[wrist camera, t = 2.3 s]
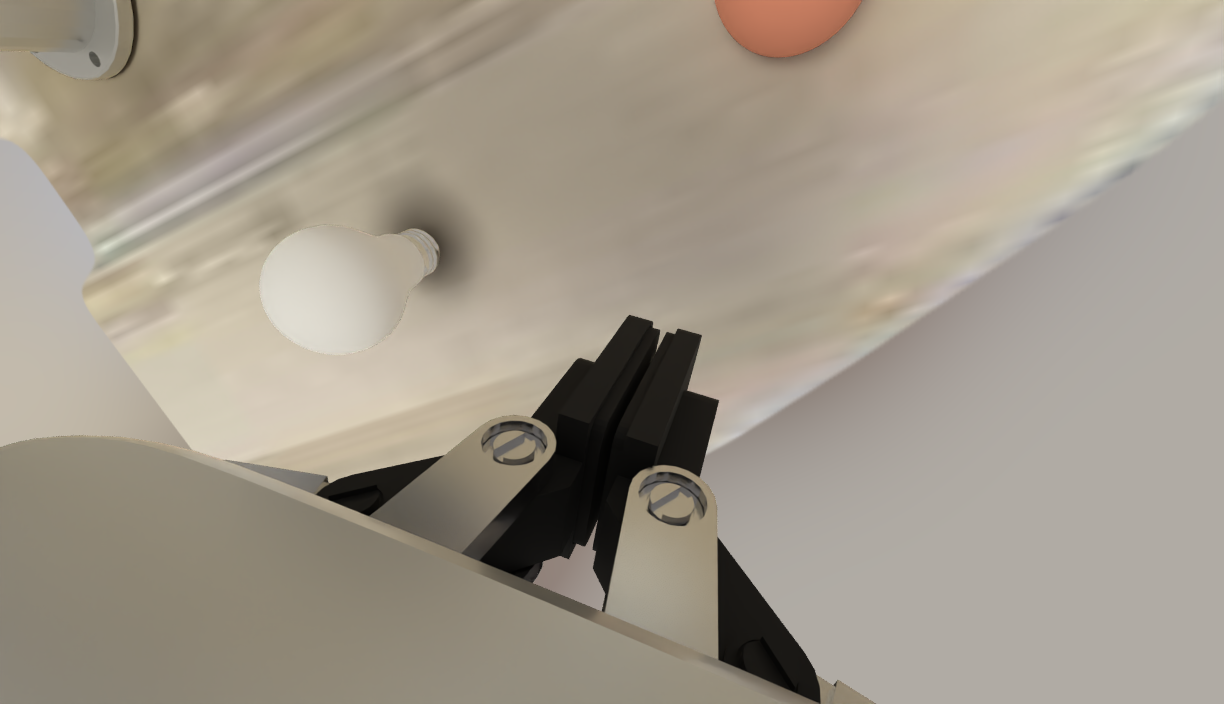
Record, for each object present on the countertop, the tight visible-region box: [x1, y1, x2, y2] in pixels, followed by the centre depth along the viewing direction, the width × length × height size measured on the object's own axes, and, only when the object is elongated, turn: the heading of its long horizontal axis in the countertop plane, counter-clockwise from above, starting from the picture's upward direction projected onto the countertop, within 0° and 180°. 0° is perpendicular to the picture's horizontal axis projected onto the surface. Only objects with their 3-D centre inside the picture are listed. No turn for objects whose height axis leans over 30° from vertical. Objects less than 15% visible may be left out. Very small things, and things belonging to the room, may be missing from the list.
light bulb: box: [259, 225, 440, 355], centre depth 28 cm, size 7×7×11 cm
